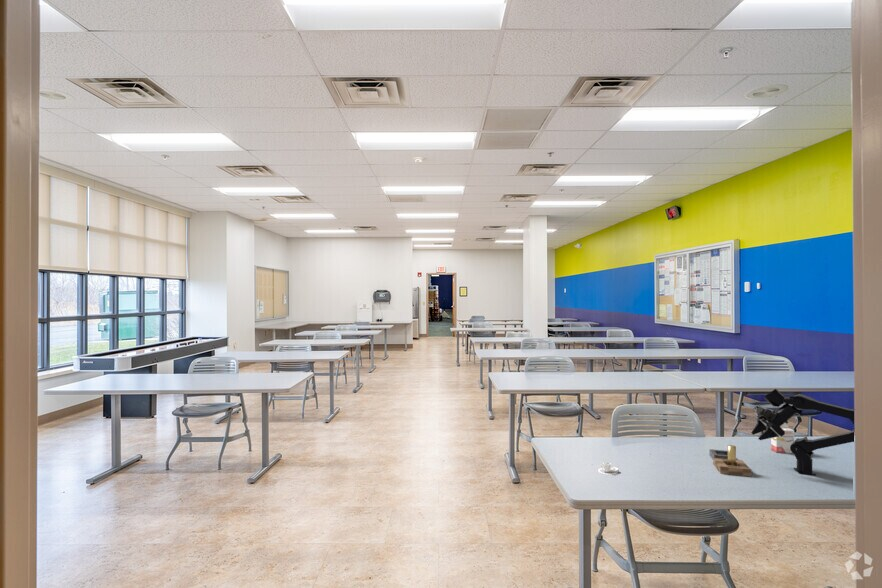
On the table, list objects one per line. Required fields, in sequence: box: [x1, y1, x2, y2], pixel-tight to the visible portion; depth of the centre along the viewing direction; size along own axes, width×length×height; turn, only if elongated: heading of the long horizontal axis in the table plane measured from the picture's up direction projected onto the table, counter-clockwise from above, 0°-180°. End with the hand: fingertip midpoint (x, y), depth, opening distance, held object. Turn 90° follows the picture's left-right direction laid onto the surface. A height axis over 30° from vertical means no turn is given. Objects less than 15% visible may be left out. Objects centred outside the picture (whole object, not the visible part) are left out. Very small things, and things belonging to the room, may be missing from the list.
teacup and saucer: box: [597, 461, 620, 476], centre depth 214 cm, size 9×8×4 cm
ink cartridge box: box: [770, 421, 795, 454], centre depth 243 cm, size 9×5×15 cm, turn 84°
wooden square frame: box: [712, 458, 752, 477], centre depth 217 cm, size 12×12×3 cm
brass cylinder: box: [727, 444, 737, 466], centre depth 217 cm, size 3×3×11 cm
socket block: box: [709, 448, 728, 460], centre depth 231 cm, size 9×9×3 cm
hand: (755, 436), depth 223 cm, fingers open, 9 cm apart
